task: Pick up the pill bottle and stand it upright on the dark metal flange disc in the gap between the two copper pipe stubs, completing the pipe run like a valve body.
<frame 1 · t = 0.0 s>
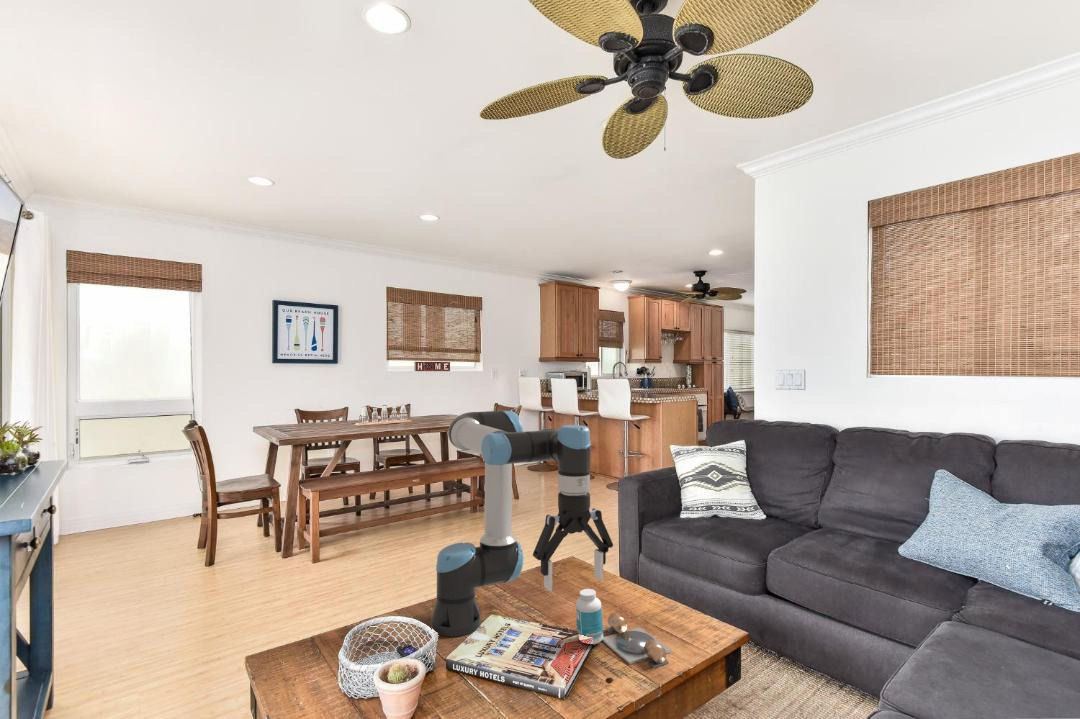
hand: (574, 583, 121), 28 cm above the table, fingers open, 13 cm apart
pill bottle: (590, 639, 150), on the table, touching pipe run
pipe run: (635, 645, 147), on the table
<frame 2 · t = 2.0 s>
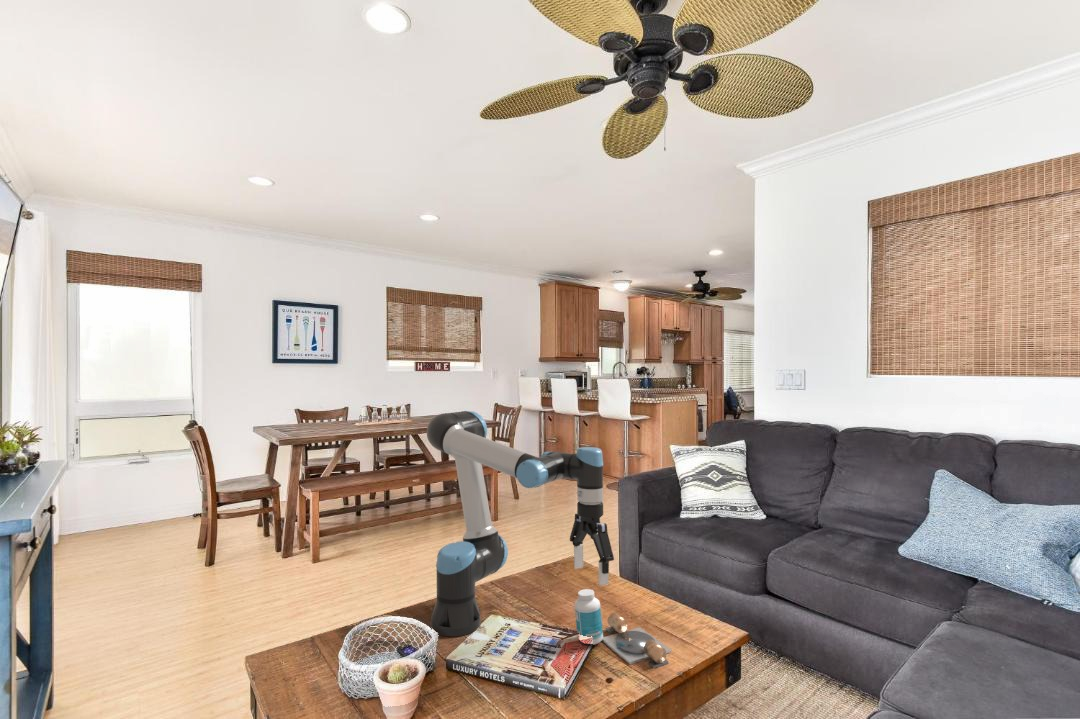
hand: (590, 575, 150), 19 cm above the table, fingers open, 13 cm apart
pill bottle: (590, 640, 150), on the table, touching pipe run
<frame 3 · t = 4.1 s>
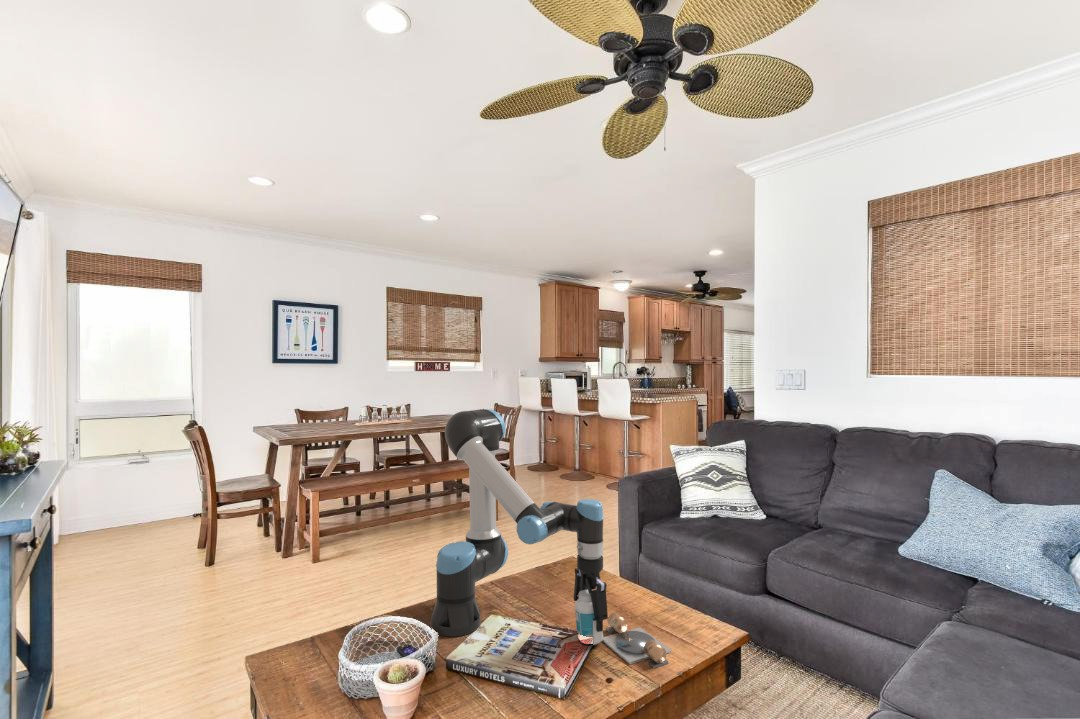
hand: (590, 634, 150), 2 cm above the table, fingers closed on pill bottle, 7 cm apart
pill bottle: (590, 639, 150), on the table, touching gripper
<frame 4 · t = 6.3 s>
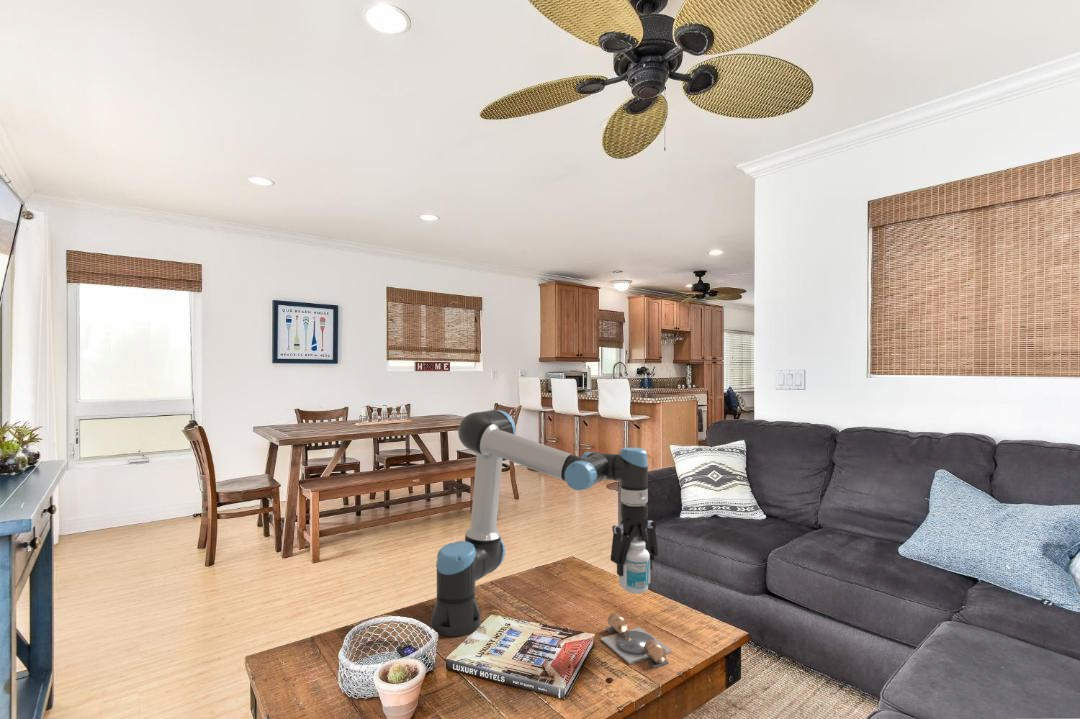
hand: (634, 584, 147), 17 cm above the table, fingers closed on pill bottle, 7 cm apart
pill bottle: (634, 589, 147), point 16 cm above the table, touching gripper
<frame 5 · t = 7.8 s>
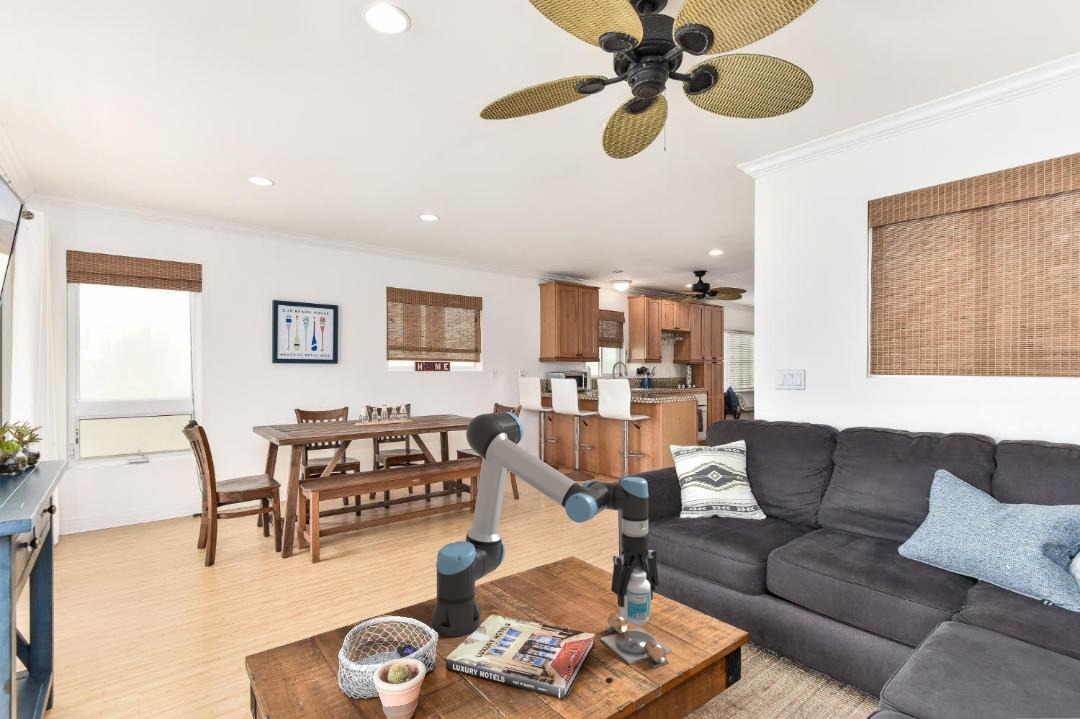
hand: (635, 614, 147), 9 cm above the table, fingers closed on pill bottle, 7 cm apart
pill bottle: (635, 619, 147), point 7 cm above the table, touching gripper
when the fingers open (5 cm above the table, at t = 9.0 s): pill bottle drops 2 cm, resting on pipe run.
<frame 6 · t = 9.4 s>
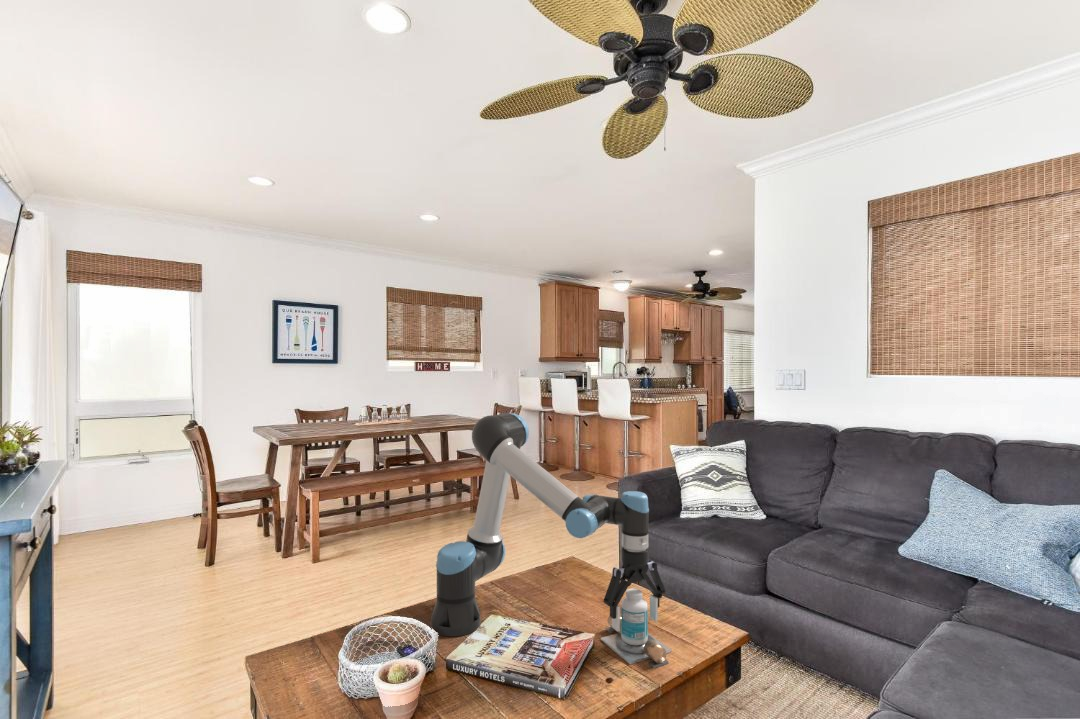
hand: (635, 624, 147), 6 cm above the table, fingers open, 12 cm apart
pill bottle: (634, 640, 147), point 1 cm above the table, touching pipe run
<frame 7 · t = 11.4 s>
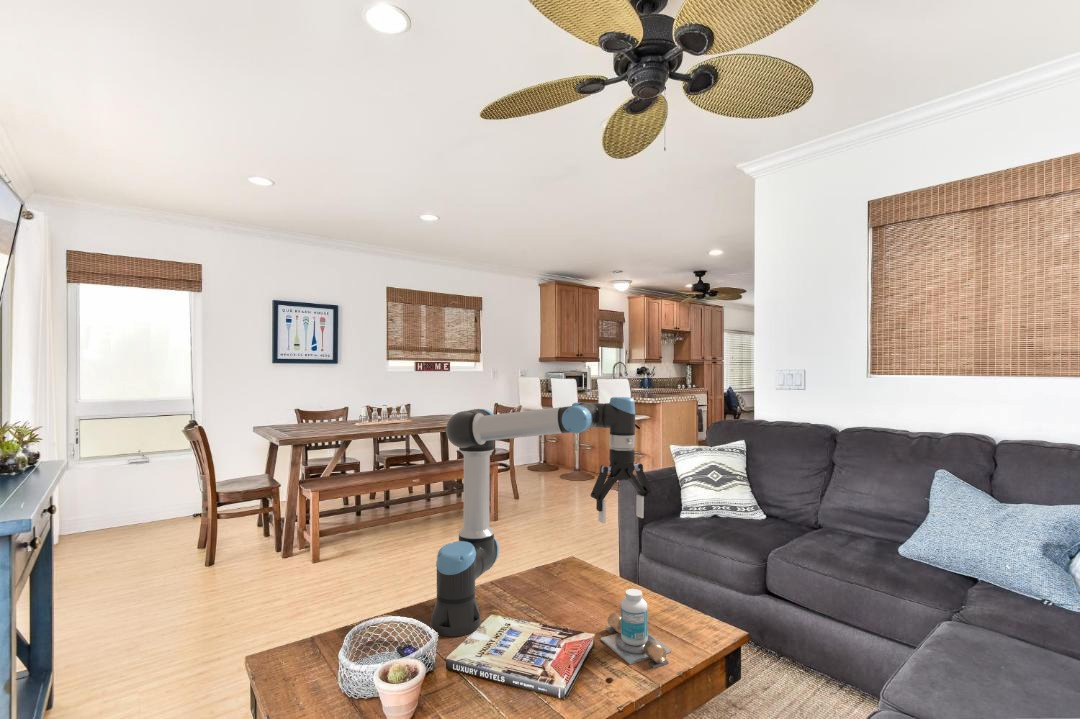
hand: (621, 519, 156), 33 cm above the table, fingers open, 13 cm apart
nothing on the table moved.
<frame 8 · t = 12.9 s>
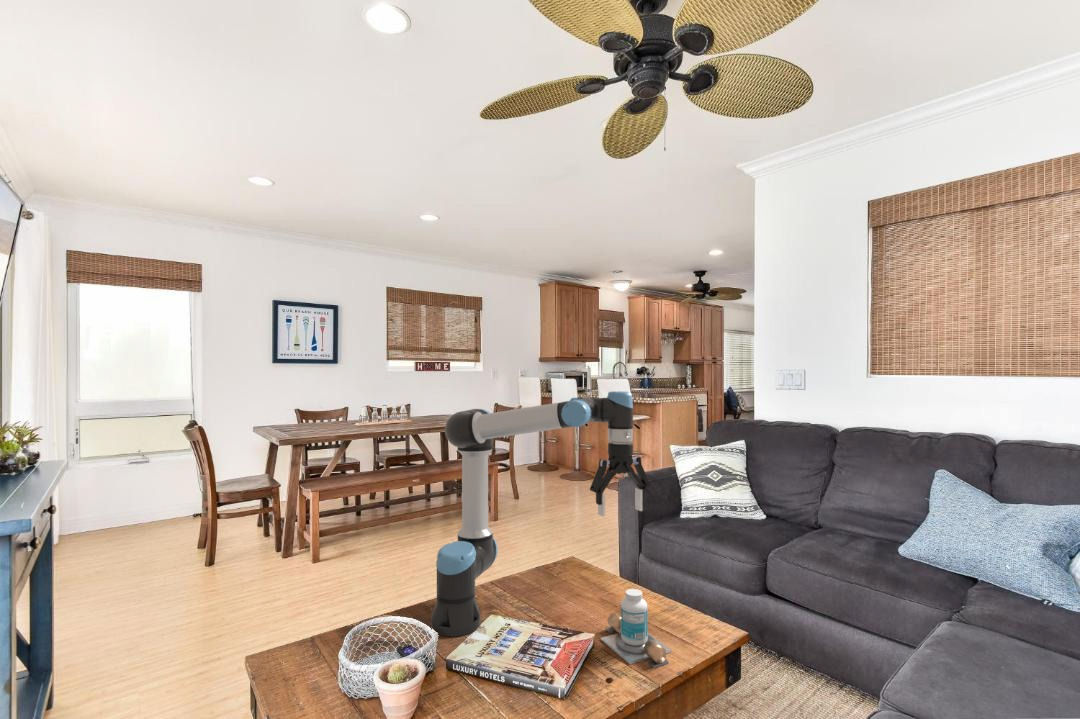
hand: (620, 512, 158), 35 cm above the table, fingers open, 13 cm apart
nothing on the table moved.
at the end: pill bottle 0.3 cm from the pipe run (horizontally); pill bottle tilted 0°; pill bottle touching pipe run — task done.
